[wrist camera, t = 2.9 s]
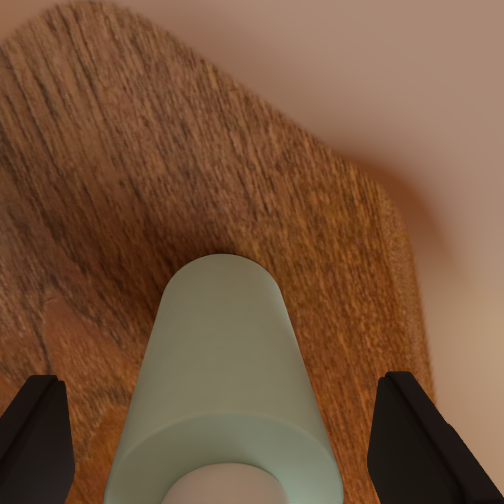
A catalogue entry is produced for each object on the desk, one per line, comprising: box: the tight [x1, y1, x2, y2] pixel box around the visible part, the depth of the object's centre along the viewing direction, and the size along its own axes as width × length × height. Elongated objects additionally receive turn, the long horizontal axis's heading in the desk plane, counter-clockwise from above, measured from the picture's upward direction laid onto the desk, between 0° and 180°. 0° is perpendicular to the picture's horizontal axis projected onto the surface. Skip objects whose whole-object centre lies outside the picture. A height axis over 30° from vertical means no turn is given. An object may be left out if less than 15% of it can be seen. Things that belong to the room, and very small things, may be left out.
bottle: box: [103, 254, 344, 504], centre depth 12 cm, size 5×5×11 cm
